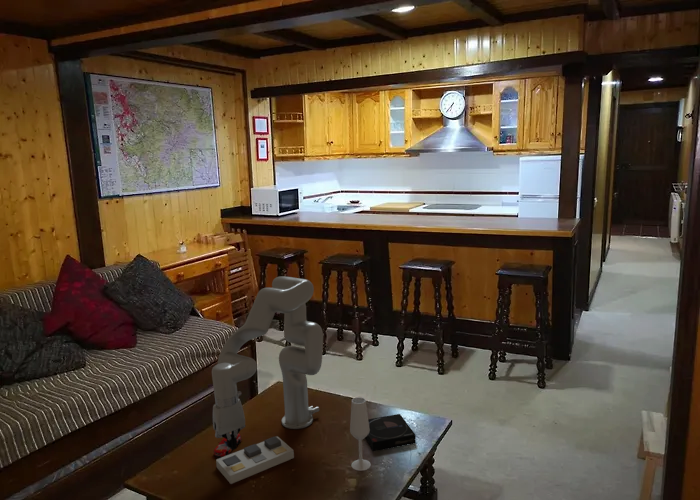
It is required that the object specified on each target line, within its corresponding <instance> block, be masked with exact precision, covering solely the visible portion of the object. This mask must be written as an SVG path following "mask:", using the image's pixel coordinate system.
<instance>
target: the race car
mask: <svg viewBox="0 0 700 500" xmlns="http://www.w3.org/2000/svg"><path fill="white" fill-rule="evenodd" d="M230 435H231V433H230ZM241 442H242V435H241V434H240V433H238V436H237V445H236V447H237V446H238V445H240V443H241ZM213 449H214V450H213V455H214V456H215V457H218V458H222V457H224V456H227V455H229V454H231V452H232V451H233V450H231V449H230V447H228V446H227V439H225V438H222V439H221V441H220V442H218V445H217V446H216V447H215V448H213Z"/></svg>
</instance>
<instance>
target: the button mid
mask: <svg viewBox="0 0 700 500" xmlns="http://www.w3.org/2000/svg"><path fill="white" fill-rule="evenodd" d="M256 444H257V443H254V444H251V445H248V446H246V447H243V449H244V453H245V454H246V455H247V456H248V457H249V458H251V457H253V456H256V455H258V454H261V449H260V448H259V447H258V446H257V445H256Z"/></svg>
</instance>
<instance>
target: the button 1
mask: <svg viewBox="0 0 700 500" xmlns="http://www.w3.org/2000/svg"><path fill="white" fill-rule="evenodd" d="M223 462H224V463H225V464H226V465H227V466H230V465H233V464H236V463H238V462H240V460H239V459H238V458H237V457H236V456H235V455H234V456H232V457H229V458H226V459H224V460H223Z"/></svg>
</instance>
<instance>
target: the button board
mask: <svg viewBox="0 0 700 500" xmlns="http://www.w3.org/2000/svg"><path fill="white" fill-rule="evenodd" d="M276 437H277V438H278V439H279V440H280V441H281V446H279V447H276V448H274V449H271V450H269V449H268V448H267V447H266V446H265V443H264V441H261V442H258V443H255V444H256V445H257V446H258V447H259V448H260V449H261V454H258V455H256V456H253V457H251V458H249V457H248V456H247V455H246V454H245V453H244V448H242V449H240V450H238V451H235V452H232V453H229V454H228V455H227V456H224V457H218V458H217V459H215V461H216V462H215V464H216V468H217V470H218V471H219V472H220V473H221V474H222V476H224V478H225V479H226V480H227V482H229V484H230V485H233V484H235V483H237V482H239V481H241V480H242V481H243V480H244V479H246V478H249V477H251V476H254V475H257V474H258V473H261V472H263V471H266V470H268V469H270V468H272V467H276V466H277V465H281V464H283V463H285V462H287V461H290V460H291V459H294V458H295V453H294V449H293V448H292V447H290V446H289V445H288V444H287V443H286V442H285V441H284V440H282V439H281V438H280V437H279V436H278V435H276ZM234 455H235V456H236V457H237V458H238V459H239V460H240V462H238V463H236V464H233V465H230V466H227V465H226V464H225V463H224V462H223V460H224V459H226V458H229V457H232V456H234Z"/></svg>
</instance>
